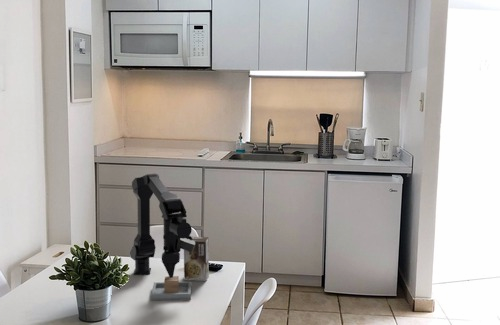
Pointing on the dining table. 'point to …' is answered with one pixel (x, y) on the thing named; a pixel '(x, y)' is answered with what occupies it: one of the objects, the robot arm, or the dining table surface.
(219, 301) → the dining table surface
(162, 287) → the grey tray
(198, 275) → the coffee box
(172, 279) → the walnut block
